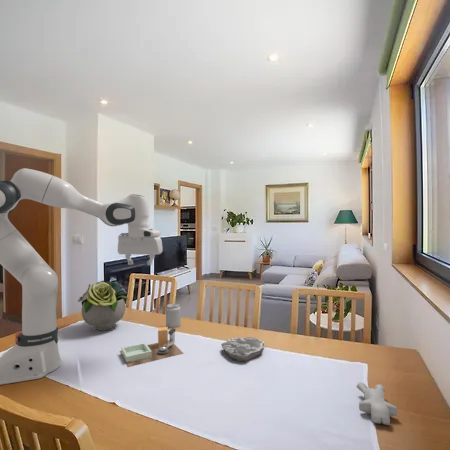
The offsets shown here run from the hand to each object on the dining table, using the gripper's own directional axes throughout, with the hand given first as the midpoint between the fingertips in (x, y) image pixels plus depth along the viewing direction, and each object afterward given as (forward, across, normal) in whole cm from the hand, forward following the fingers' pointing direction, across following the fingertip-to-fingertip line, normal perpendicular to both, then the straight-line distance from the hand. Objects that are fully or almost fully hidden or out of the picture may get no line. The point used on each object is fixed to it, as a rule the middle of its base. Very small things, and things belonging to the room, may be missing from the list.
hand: (140, 264), depth 126 cm
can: (+37, +1, +27) cm, 46 cm away
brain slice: (+38, +42, +9) cm, 57 cm away
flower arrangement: (+37, -34, +18) cm, 53 cm away
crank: (+34, +12, 0) cm, 36 cm away
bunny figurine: (+38, +88, -18) cm, 97 cm away
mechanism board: (+37, +7, -5) cm, 38 cm away
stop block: (+35, +8, +3) cm, 36 cm away
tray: (+35, +3, -9) cm, 36 cm away
